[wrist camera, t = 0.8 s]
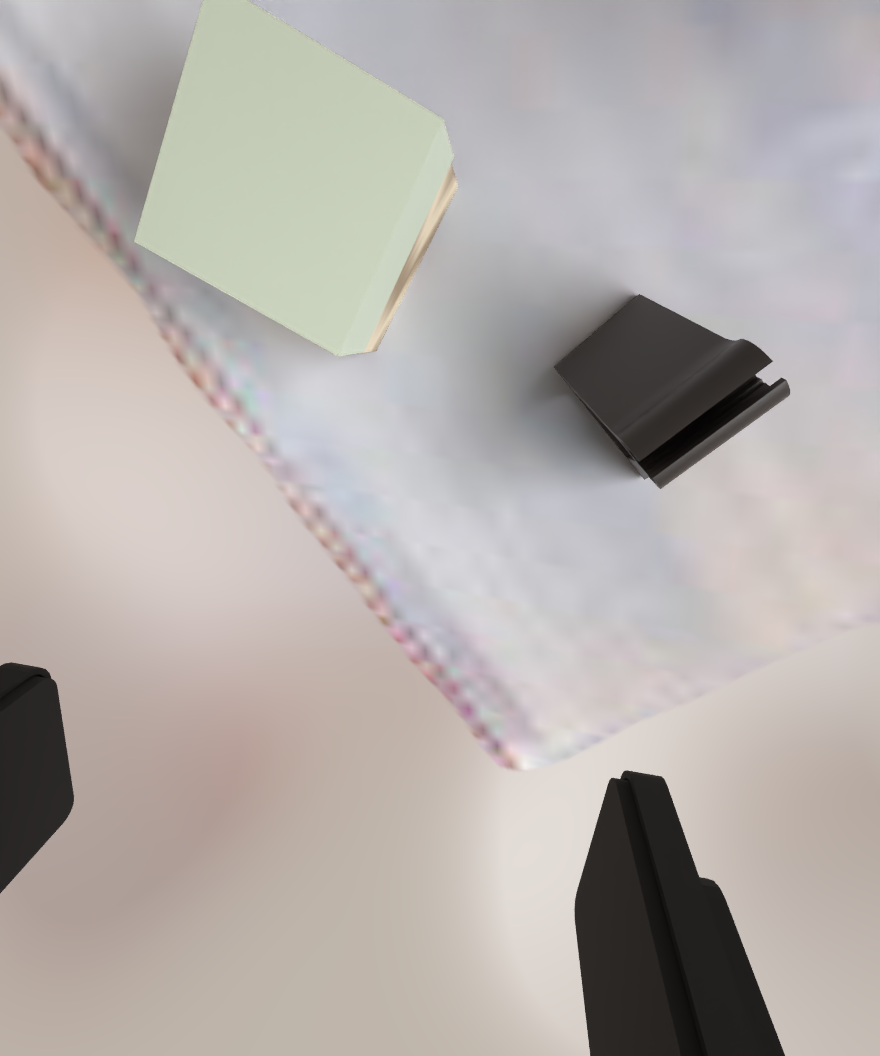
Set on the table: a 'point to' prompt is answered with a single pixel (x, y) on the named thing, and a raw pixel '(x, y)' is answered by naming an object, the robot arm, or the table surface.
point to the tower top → (291, 177)
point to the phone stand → (668, 387)
